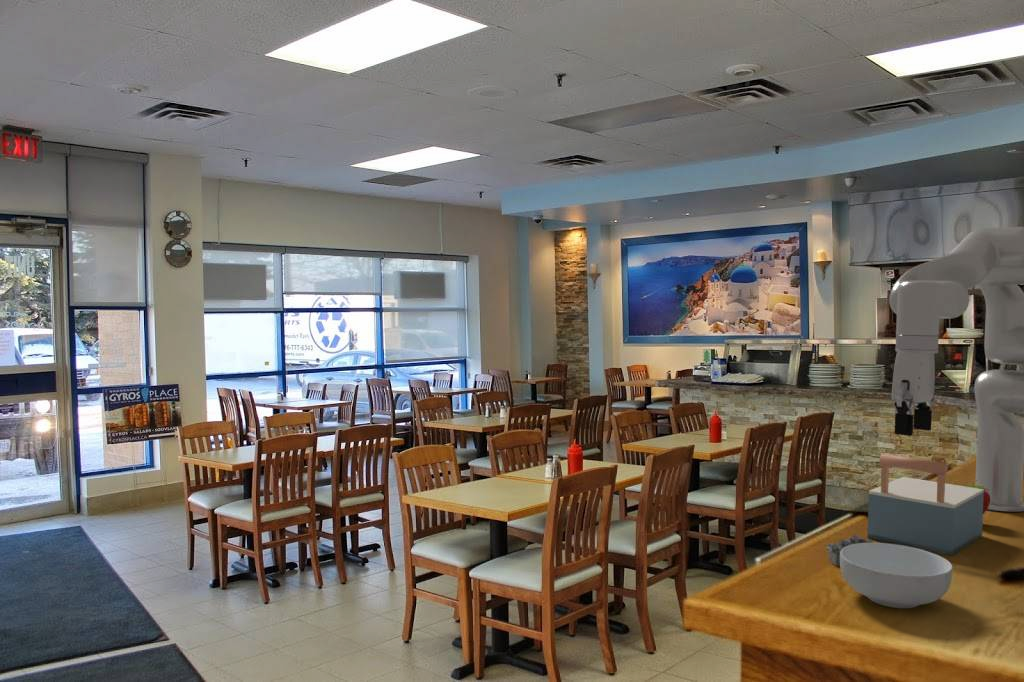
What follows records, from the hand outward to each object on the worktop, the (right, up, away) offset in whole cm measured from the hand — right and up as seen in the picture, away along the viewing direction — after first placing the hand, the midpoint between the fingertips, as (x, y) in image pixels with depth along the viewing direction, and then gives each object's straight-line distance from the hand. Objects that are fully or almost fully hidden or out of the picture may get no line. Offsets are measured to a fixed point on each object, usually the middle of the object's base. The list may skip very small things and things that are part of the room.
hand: (913, 432), depth 167 cm
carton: (+6, -22, +8) cm, 24 cm away
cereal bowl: (-16, -25, -27) cm, 40 cm away
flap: (+6, -13, +7) cm, 16 cm away
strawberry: (+21, -22, +17) cm, 35 cm away
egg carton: (-14, -24, -8) cm, 29 cm away
